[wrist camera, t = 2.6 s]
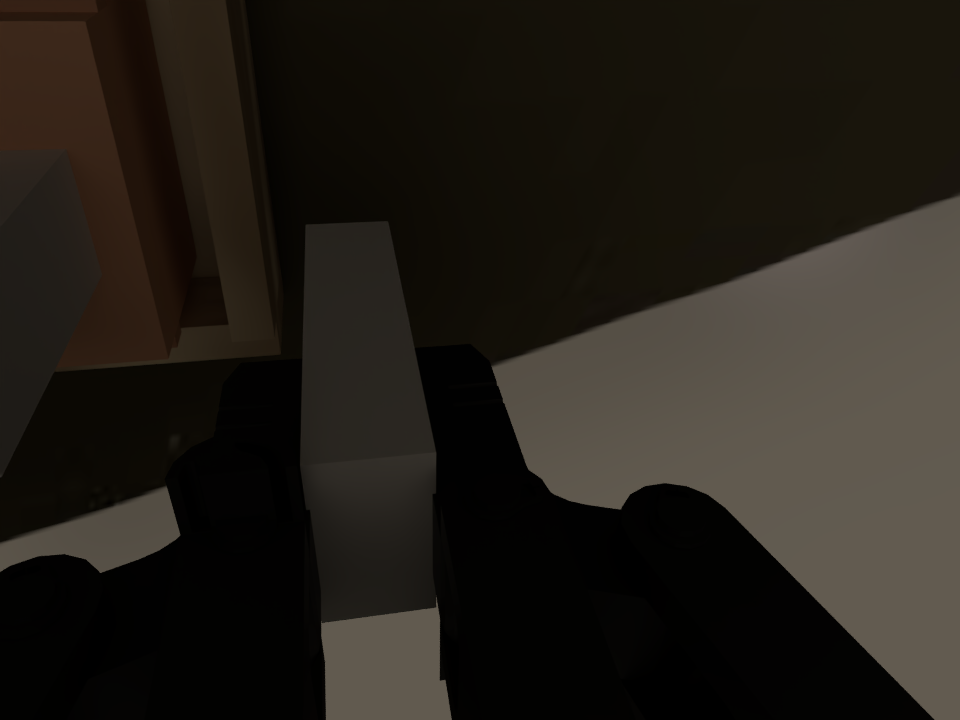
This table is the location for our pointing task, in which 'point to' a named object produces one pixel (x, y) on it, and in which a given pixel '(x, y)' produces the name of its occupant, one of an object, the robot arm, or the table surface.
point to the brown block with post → (84, 199)
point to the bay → (219, 182)
